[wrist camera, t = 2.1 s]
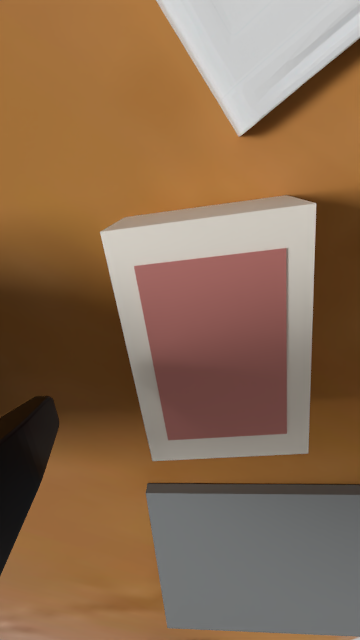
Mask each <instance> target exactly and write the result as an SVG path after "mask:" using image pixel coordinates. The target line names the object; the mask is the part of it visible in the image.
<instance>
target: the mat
mask: <svg viewBox="0 0 360 640" xmlns="http://www.w3.org/2000/svg"><path fill="white" fill-rule="evenodd" d="M146 497H147V503H148V510H149V516H150V522H151V528H152V534H153V541H154V547H155V553H156V559H157V565H158V572H159V578H160V584H161V590H162V596H163V603H164V609H165V615H166V621H167V627H168V628H178V629H200V630H223V631H246V632H269V633H291V634H314V635H337V636H359V637H360V485H304V484H147V489H146Z"/></svg>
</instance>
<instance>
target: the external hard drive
mask: <svg viewBox="0 0 360 640" xmlns="http://www.w3.org/2000/svg"><path fill="white" fill-rule="evenodd" d="M156 1H157V3H158V4H159V6H160V8H161V9H162V11H163V13H164V14H165V16H166V18H167V19H168V21H169V23H170V24H171V26H172V28H173V29H174V31H175V32H176V34H177V36H178V37H179V39H180V41H181V42H182V44H183V46H184V47H185V49H186V51H187V52H188V54H189V56H190V57H191V59H192V60H193V62H194V64H195V65H196V67H197V69H198V70H199V72H200V74H201V75H202V77H203V79H204V80H205V82H206V84H207V85H208V87H209V88H210V90H211V92H212V93H213V95H214V97H215V98H216V100H217V101H218V103H219V105H220V106H221V108H222V110H223V112H224V113H225V115H226V116H227V118H228V120H229V121H230V123H231V125H232V126H233V128H234V130H235V131H236V133H237V135H238V136H241V135H243V134H244V133H245V132H246V131H247V130H249V129H250V128H251V127H252V126H254V125H255V124H256V123H257V122H258V121H260V120H261V119H262V118H263V117H264V116H266V115H267V114H268V113H269V112H270V111H272V110H273V109H274V108H275V107H276V106H278V105H279V104H280V103H281V102H283V101H284V100H285V99H286V98H287V97H288V96H290V95H291V94H292V93H294V92H295V91H296V90H297V89H298V88H299V87H301V86H302V85H303V84H304V83H306V82H307V81H308V80H309V79H310V78H312V77H313V76H314V75H315V74H316V73H318V72H319V71H320V70H321V69H323V68H324V67H325V66H326V65H327V64H329V63H330V62H331V61H332V60H334V59H335V58H336V57H338V56H339V55H340V54H341V53H343V52H344V51H345V50H346V49H347V48H349V47H350V46H351V45H352V44H354V43H355V42H356V41H357V40H358V39H360V0H156Z"/></svg>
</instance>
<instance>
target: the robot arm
mask: <svg viewBox="0 0 360 640" xmlns="http://www.w3.org/2000/svg"><path fill="white" fill-rule="evenodd" d="M58 428H59V418H58V415H57V411H56V408H55V404H54V401H53V399H52V397H50V396H37V397H34V398H32V399H31V400H29V401H27V402H26V403H24V404H22V405H21V406H19V407H18V408H16V409H14V410H13V411H11V412H9V413H8V414H6V415H4V416H3V417H1V418H0V575H1V573H2V571H3V568H4V566H5V564H6V562H7V559H8V557H9V555H10V552H11V550H12V548H13V546H14V543H15V541H16V539H17V536H18V534H19V532H20V529H21V527H22V525H23V523H24V520H25V518H26V516H27V513H28V511H29V509H30V507H31V504H32V502H33V500H34V497H35V495H36V493H37V491H38V488H39V486H40V483H41V481H42V478H43V475H44V472H45V469H46V466H47V463H48V460H49V456H50V453H51V450H52V447H53V444H54V441H55V438H56V434H57V431H58Z"/></svg>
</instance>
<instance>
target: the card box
mask: <svg viewBox="0 0 360 640" xmlns="http://www.w3.org/2000/svg"><path fill="white" fill-rule="evenodd" d="M315 229H316V203H314V202H310V201H306V200H303V199H299V198H295V197H292V196H288V195H285V196H277V197H270V198H263V199H255V200H248V201H241V202H233V203H226V204H219V205H211V206H204V207H197V208H189V209H182V210H175V211H167V212H160V213H153V214H145V215H138V216H131V217H125V218H123V219H121V220H119V221H118V222H116V223H114V224H113V225H111V226H109V227H107V228H106V229H104V230H102V231H101V232H100V234H101V239H102V243H103V247H104V252H105V256H106V260H107V265H108V269H109V273H110V278H111V282H112V286H113V291H114V295H115V299H116V304H117V308H118V313H119V317H120V321H121V326H122V330H123V334H124V339H125V343H126V347H127V352H128V356H129V360H130V365H131V369H132V373H133V378H134V382H135V386H136V391H137V395H138V400H139V404H140V408H141V413H142V417H143V421H144V426H145V430H146V434H147V439H148V443H149V447H150V452H151V456H152V460H153V461H164V460H185V459H205V458H226V457H246V456H267V455H287V454H308V447H309V416H310V385H311V354H312V322H313V291H314V260H315Z"/></svg>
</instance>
